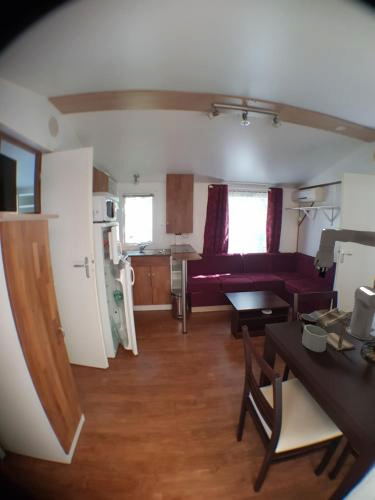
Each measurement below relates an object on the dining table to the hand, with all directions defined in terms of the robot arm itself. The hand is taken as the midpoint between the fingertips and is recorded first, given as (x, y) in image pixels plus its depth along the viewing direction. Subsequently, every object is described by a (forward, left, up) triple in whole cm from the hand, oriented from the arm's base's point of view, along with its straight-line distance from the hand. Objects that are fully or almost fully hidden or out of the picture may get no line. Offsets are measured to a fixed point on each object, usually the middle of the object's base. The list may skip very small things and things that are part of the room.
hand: (321, 277), depth 118 cm
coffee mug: (+8, +2, -35) cm, 36 cm away
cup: (+16, +15, -35) cm, 41 cm away
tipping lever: (+3, +13, -23) cm, 26 cm away
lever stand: (0, +15, -35) cm, 38 cm away
